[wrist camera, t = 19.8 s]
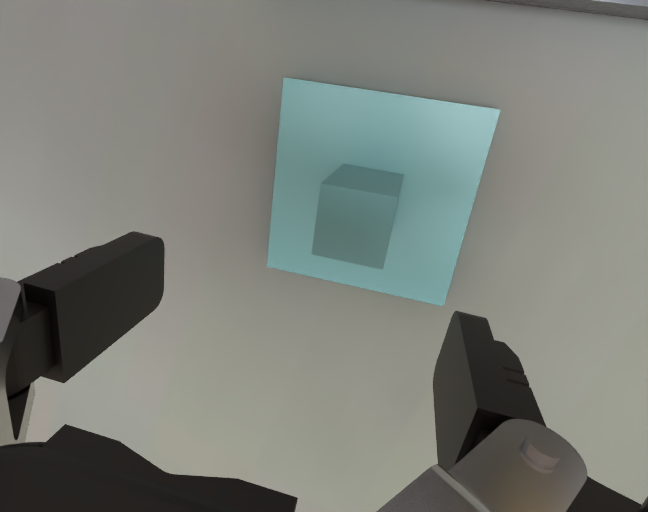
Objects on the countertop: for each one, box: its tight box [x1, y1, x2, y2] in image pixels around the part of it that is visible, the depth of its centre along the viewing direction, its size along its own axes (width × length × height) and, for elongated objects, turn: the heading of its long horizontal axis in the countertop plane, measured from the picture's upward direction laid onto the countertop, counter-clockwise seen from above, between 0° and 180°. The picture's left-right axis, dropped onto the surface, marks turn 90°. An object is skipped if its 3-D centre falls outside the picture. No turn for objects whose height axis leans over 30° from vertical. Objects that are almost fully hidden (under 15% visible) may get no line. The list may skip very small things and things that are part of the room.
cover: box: [267, 77, 500, 306], centre depth 19 cm, size 10×10×6 cm
